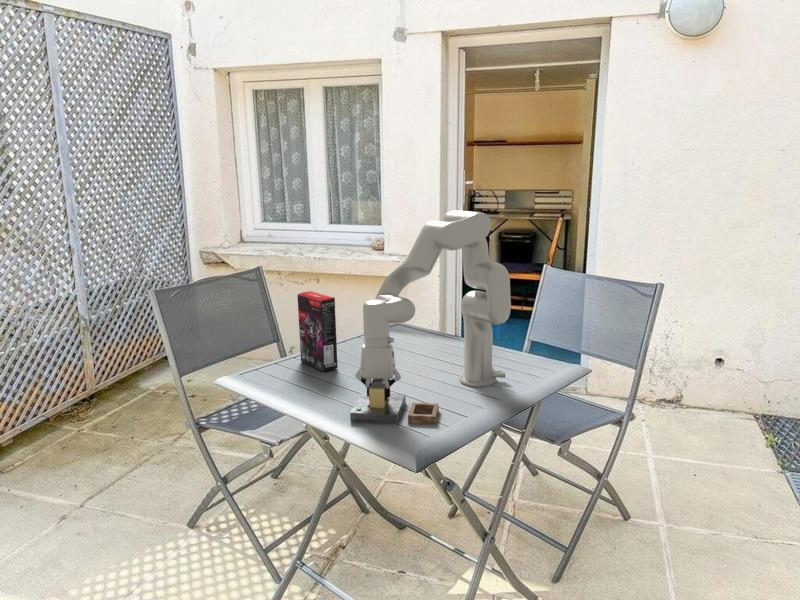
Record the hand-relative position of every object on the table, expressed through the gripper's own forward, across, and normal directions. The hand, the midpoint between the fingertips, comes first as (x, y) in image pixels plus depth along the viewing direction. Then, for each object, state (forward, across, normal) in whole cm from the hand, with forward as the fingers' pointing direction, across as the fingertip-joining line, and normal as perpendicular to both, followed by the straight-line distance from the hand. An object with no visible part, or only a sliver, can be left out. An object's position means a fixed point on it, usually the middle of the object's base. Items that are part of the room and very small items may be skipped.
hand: (378, 398), depth 182 cm
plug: (+4, 0, 0) cm, 4 cm away
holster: (+5, -14, +2) cm, 15 cm away
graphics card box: (+5, +31, -40) cm, 51 cm away
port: (+5, 0, 0) cm, 5 cm away
